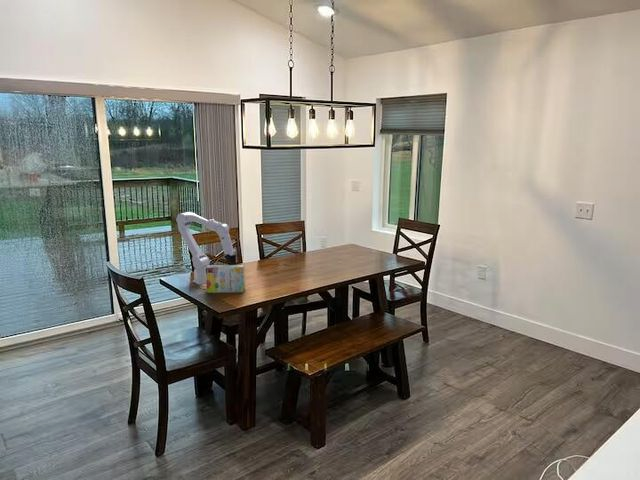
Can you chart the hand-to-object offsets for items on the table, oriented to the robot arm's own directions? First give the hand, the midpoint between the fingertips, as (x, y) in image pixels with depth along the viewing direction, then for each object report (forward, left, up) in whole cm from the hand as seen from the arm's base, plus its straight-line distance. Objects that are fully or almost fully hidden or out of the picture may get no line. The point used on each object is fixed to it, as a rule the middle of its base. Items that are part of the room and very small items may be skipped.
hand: (233, 266), depth 272 cm
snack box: (+7, -8, -12) cm, 16 cm away
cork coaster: (-7, -13, -12) cm, 19 cm away
